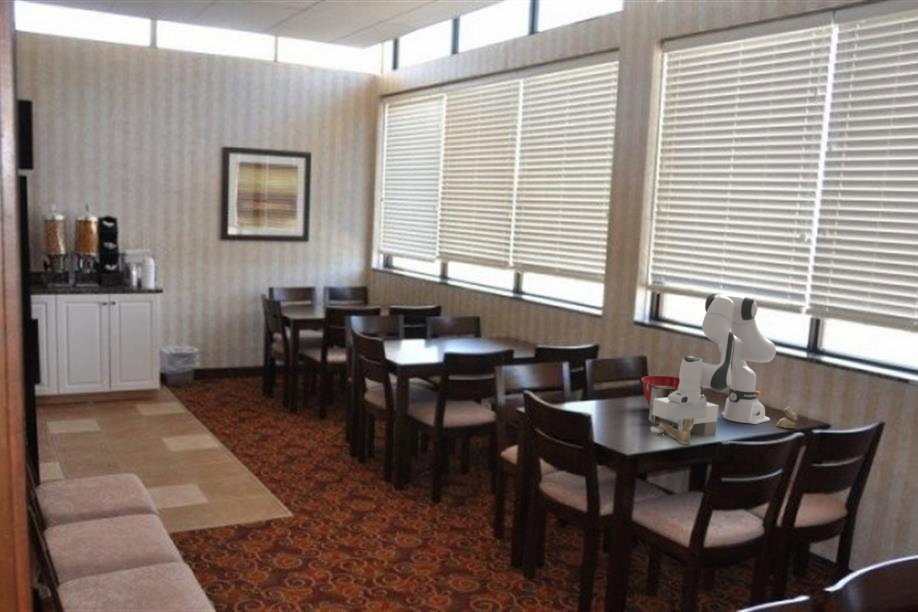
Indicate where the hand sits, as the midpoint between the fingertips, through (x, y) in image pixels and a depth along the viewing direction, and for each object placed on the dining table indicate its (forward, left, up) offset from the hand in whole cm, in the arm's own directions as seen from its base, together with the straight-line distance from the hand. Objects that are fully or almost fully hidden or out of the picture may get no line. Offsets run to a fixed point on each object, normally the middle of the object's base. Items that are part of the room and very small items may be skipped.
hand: (685, 429), depth 330 cm
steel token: (-1, -16, -6) cm, 17 cm away
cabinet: (-15, -14, -6) cm, 21 cm away
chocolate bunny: (-70, -3, -6) cm, 70 cm away
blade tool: (-3, -9, -6) cm, 11 cm away
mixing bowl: (-34, -40, -6) cm, 53 cm away
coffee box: (-17, -29, -6) cm, 34 cm away
